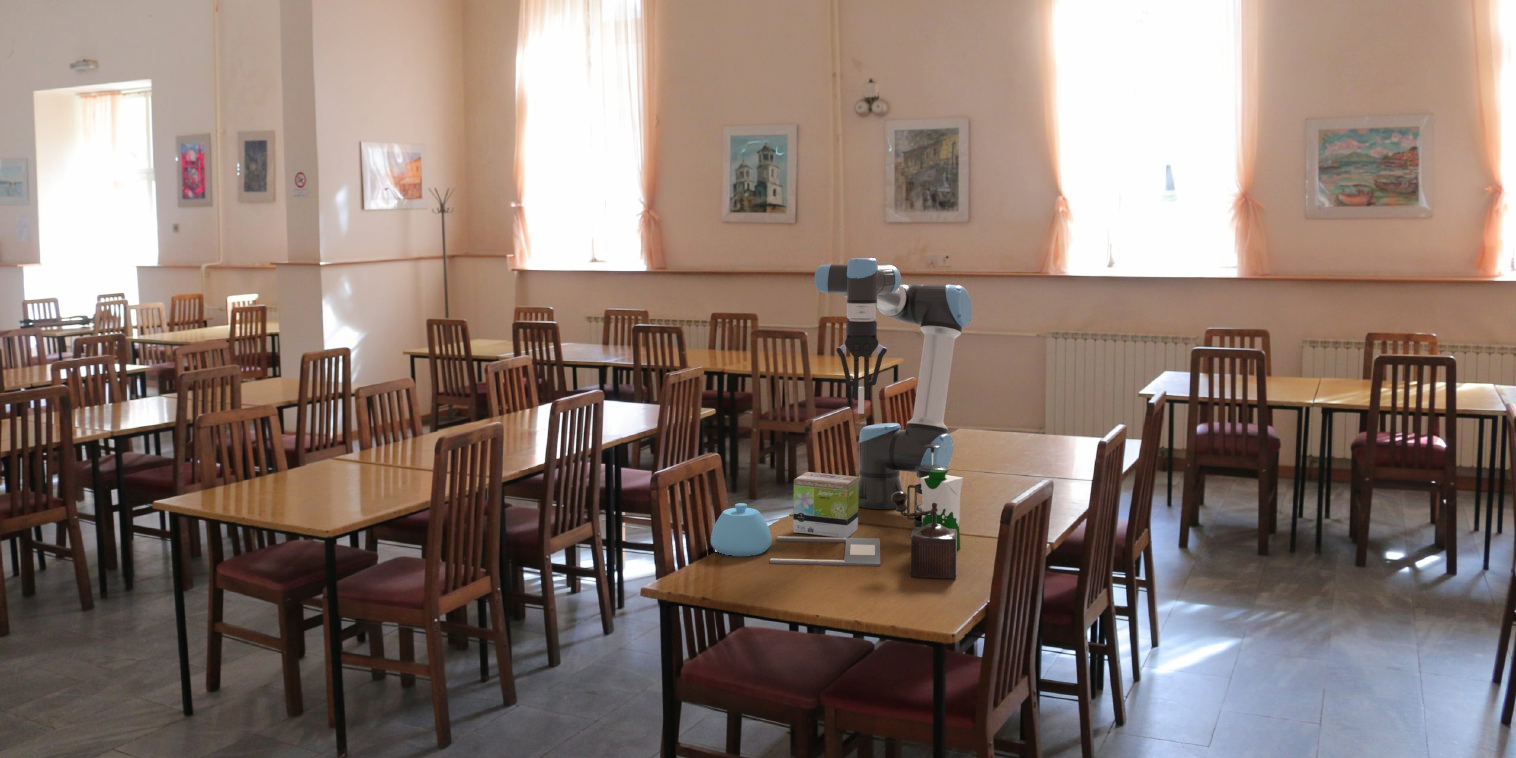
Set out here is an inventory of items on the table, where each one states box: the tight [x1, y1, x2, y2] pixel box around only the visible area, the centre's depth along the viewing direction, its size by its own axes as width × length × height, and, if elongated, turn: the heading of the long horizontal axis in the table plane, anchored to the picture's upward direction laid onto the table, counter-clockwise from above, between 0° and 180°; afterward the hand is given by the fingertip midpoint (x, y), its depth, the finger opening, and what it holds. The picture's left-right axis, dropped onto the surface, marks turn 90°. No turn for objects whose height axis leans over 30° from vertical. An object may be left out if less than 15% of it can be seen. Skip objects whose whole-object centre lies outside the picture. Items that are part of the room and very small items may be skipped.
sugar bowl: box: [710, 502, 772, 557], centre depth 287 cm, size 15×15×12 cm
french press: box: [906, 444, 951, 528], centre depth 303 cm, size 12×9×23 cm
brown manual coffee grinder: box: [891, 491, 958, 581], centre depth 267 cm, size 16×11×18 cm
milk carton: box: [919, 469, 964, 550], centre depth 286 cm, size 9×9×20 cm
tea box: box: [792, 471, 859, 538], centre depth 303 cm, size 15×10×15 cm
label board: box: [769, 535, 881, 567], centre depth 285 cm, size 23×26×1 cm
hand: (861, 412), depth 294 cm, fingers closed
